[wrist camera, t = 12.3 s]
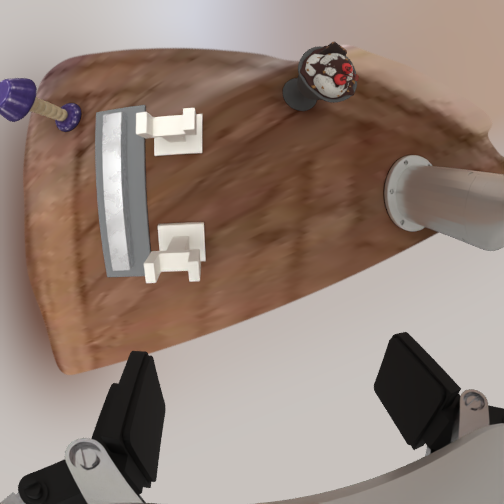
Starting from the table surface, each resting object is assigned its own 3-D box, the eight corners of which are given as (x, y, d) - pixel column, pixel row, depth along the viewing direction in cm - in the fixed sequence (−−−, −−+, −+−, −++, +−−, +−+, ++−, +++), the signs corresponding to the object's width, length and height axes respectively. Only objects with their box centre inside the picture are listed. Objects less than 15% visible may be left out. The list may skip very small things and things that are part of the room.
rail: (127, 115, 30) (121, 112, 27) (134, 263, 36) (130, 270, 33) (109, 118, 29) (103, 115, 27) (118, 264, 35) (112, 270, 33)
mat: (145, 105, 30) (144, 104, 30) (153, 274, 37) (152, 275, 36) (97, 113, 29) (96, 112, 29) (108, 275, 36) (107, 277, 35)
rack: (202, 115, 32) (198, 92, 21) (205, 258, 37) (204, 295, 27) (156, 118, 31) (133, 98, 20) (162, 260, 37) (145, 297, 26)
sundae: (302, 126, 34) (356, 105, 20) (266, 92, 32) (301, 49, 18) (331, 98, 33) (393, 69, 19) (298, 64, 31) (345, 18, 17)
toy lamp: (67, 97, 27) (-3, 69, 12) (90, 104, 29) (22, 74, 13) (53, 127, 28) (-22, 115, 13) (75, 136, 30) (1, 124, 14)
